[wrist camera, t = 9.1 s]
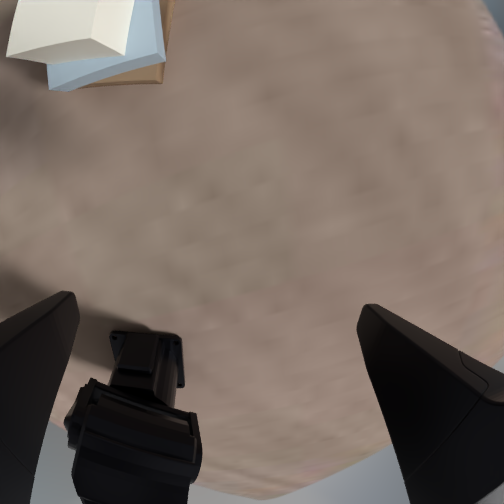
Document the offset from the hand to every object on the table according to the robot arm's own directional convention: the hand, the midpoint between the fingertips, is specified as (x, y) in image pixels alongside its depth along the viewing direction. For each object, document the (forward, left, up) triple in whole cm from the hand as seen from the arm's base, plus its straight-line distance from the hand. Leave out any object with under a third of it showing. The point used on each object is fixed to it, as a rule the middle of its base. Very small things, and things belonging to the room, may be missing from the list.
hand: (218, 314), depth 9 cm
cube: (+11, +8, -8) cm, 16 cm away
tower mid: (+11, +8, -11) cm, 17 cm away
